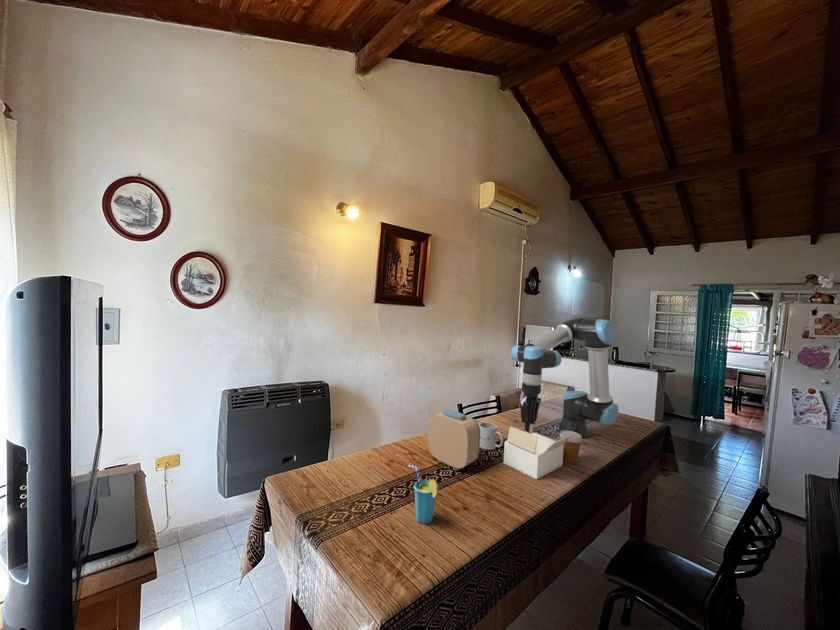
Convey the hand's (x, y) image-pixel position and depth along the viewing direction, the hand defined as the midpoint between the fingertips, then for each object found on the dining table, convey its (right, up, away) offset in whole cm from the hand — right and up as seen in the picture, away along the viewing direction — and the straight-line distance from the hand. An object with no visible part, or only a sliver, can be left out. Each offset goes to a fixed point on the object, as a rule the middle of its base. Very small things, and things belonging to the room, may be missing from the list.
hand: (528, 438), depth 140 cm
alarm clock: (-32, -11, +2) cm, 34 cm away
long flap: (+10, 0, -5) cm, 12 cm away
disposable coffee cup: (+22, -14, +9) cm, 27 cm away
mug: (-12, -12, +19) cm, 26 cm away
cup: (-45, -12, -35) cm, 58 cm away
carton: (+3, -13, +4) cm, 14 cm away
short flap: (-3, +1, -3) cm, 4 cm away
